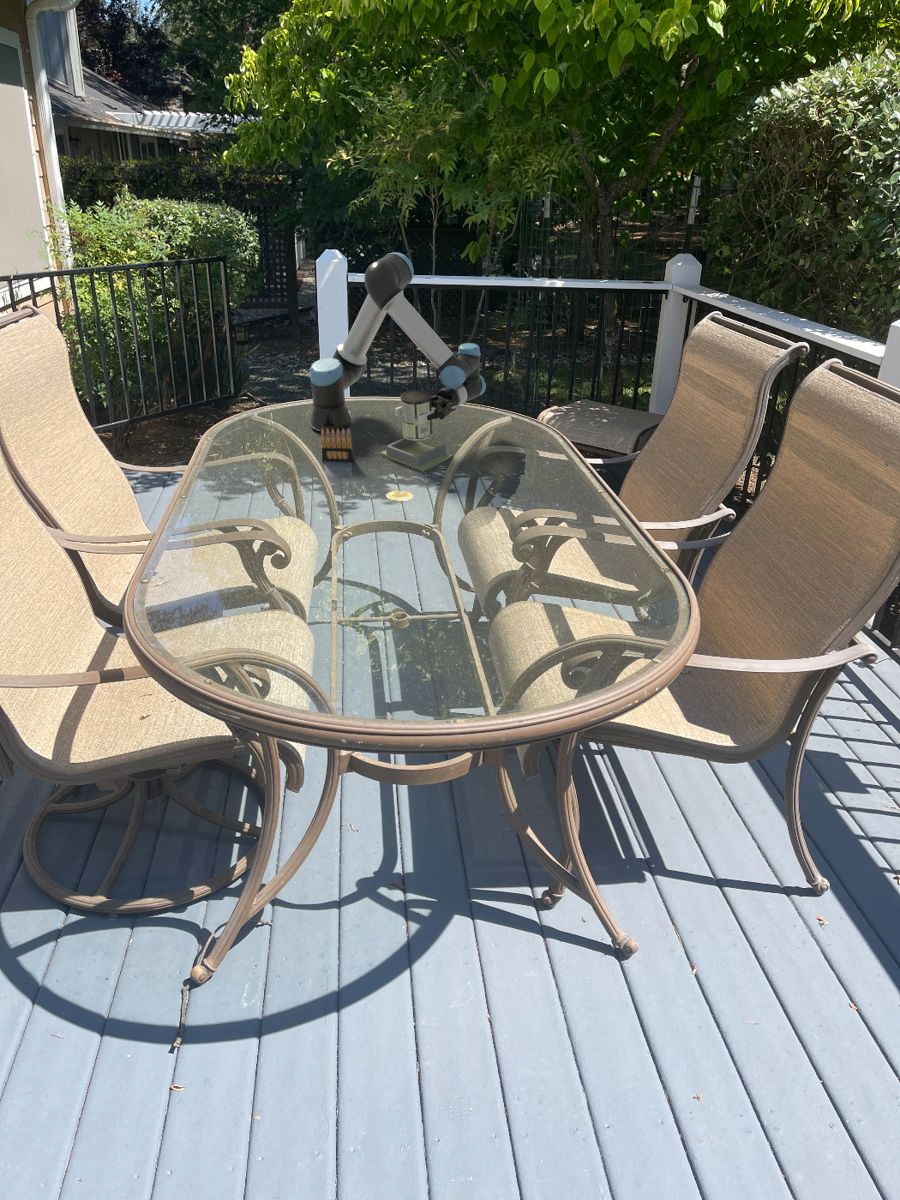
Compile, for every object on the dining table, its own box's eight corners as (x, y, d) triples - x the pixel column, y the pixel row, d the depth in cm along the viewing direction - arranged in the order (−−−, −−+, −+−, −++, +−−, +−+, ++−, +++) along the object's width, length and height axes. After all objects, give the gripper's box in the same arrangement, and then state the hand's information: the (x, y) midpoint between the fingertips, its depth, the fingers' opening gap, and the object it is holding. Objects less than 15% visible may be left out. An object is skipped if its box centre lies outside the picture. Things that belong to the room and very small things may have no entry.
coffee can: (413, 426, 306) (411, 387, 298) (438, 432, 301) (437, 393, 293) (396, 437, 299) (394, 397, 291) (421, 443, 294) (420, 403, 286)
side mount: (380, 455, 305) (379, 444, 303) (410, 441, 314) (409, 430, 312) (423, 471, 294) (422, 460, 292) (452, 456, 304) (452, 446, 301)
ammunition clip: (322, 461, 301) (319, 429, 294) (323, 459, 303) (320, 426, 296) (353, 462, 301) (350, 429, 294) (354, 460, 302) (351, 427, 295)
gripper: (476, 415, 303) (433, 435, 289) (427, 399, 315) (384, 418, 301) (476, 394, 298) (432, 414, 285) (427, 379, 311) (382, 397, 297)
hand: (407, 416), depth 293 cm, fingers closed on coffee can, 10 cm apart
